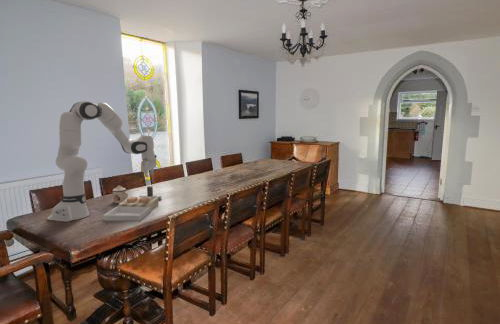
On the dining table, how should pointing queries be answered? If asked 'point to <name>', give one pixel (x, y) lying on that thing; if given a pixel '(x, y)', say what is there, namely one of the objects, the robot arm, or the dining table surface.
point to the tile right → (144, 199)
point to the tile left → (132, 199)
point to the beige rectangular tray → (141, 203)
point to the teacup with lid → (119, 194)
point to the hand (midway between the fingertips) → (149, 175)
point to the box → (127, 213)
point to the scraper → (150, 193)
